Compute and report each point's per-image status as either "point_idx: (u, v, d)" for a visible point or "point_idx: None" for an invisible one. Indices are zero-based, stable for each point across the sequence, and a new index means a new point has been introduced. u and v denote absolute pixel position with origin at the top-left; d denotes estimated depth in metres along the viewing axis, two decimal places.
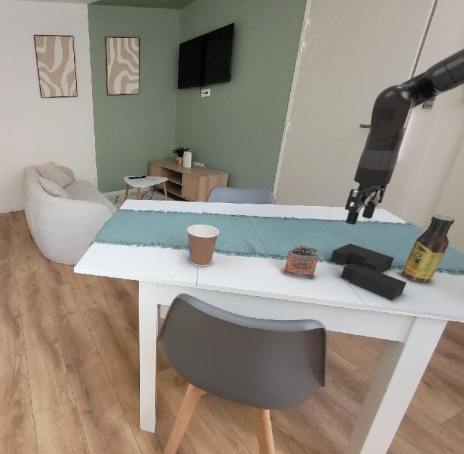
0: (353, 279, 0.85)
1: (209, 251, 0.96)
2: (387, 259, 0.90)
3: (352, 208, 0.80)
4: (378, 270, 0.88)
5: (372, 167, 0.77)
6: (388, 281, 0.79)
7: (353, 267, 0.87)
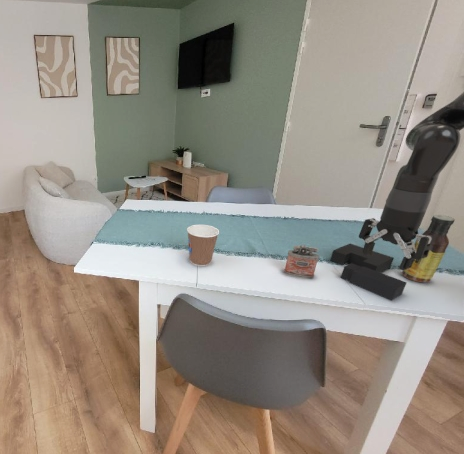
0: (353, 279, 0.85)
1: (209, 251, 0.96)
2: (387, 259, 0.90)
3: (425, 255, 0.72)
4: (378, 270, 0.88)
5: (426, 209, 0.70)
6: (388, 281, 0.79)
7: (353, 267, 0.87)
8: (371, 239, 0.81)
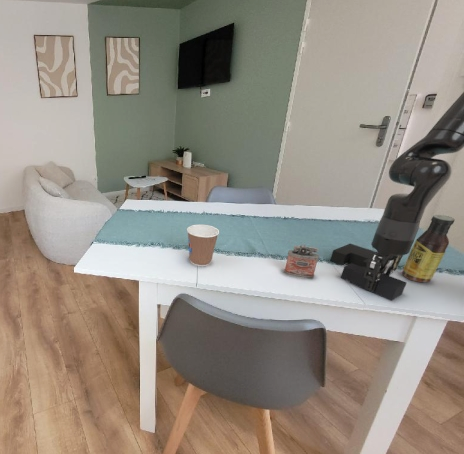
0: (353, 279, 0.85)
1: (209, 251, 0.96)
2: None
3: None
4: None
5: None
6: (388, 281, 0.79)
7: (353, 267, 0.87)
8: (380, 275, 0.79)
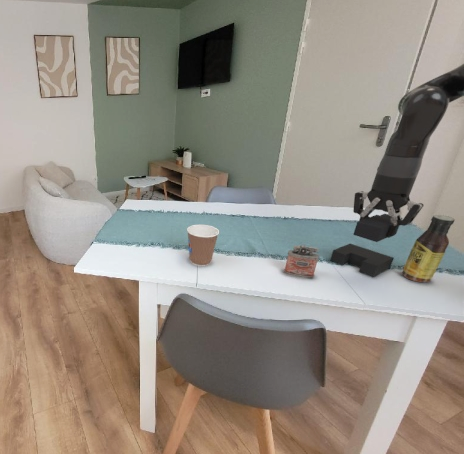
0: None
1: (209, 251, 0.96)
2: (387, 259, 0.90)
3: (410, 222, 0.74)
4: (378, 270, 0.88)
5: (417, 174, 0.71)
6: (369, 221, 0.79)
7: (387, 216, 0.82)
8: (366, 212, 0.81)
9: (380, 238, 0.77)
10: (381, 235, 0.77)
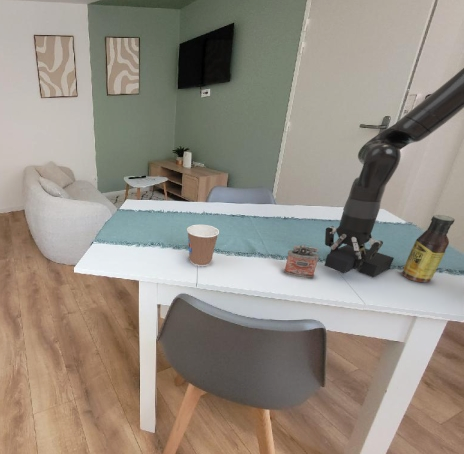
0: None
1: (209, 251, 0.96)
2: (387, 259, 0.90)
3: (372, 256, 0.83)
4: (378, 270, 0.88)
5: None
6: (338, 254, 0.89)
7: None
8: (335, 245, 0.90)
9: (347, 270, 0.86)
10: (348, 267, 0.86)
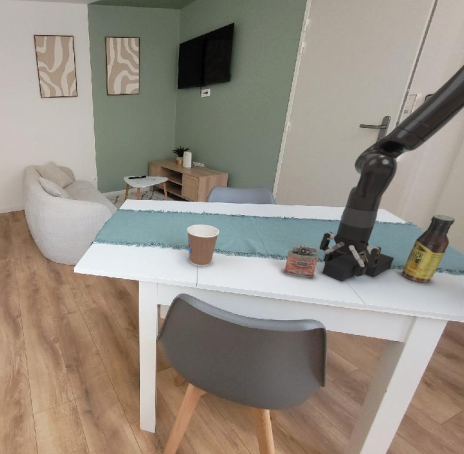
0: None
1: (209, 251, 0.96)
2: (387, 259, 0.90)
3: (375, 264, 0.83)
4: (378, 270, 0.88)
5: None
6: (335, 262, 0.90)
7: (353, 256, 0.92)
8: (330, 250, 0.91)
9: (344, 278, 0.87)
10: (345, 275, 0.87)
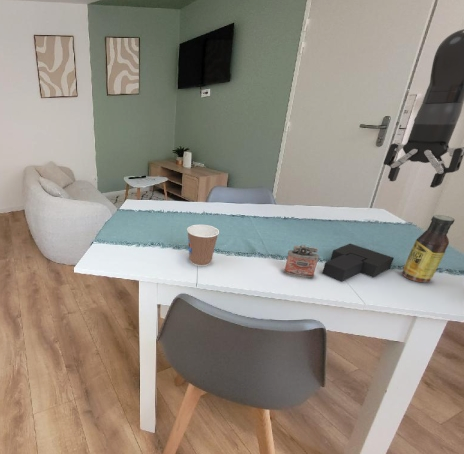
0: None
1: (209, 251, 0.96)
2: (387, 259, 0.90)
3: (457, 168, 0.73)
4: (378, 270, 0.88)
5: None
6: (335, 262, 0.90)
7: (353, 256, 0.92)
8: (398, 163, 0.81)
9: (344, 278, 0.87)
10: (345, 275, 0.87)
